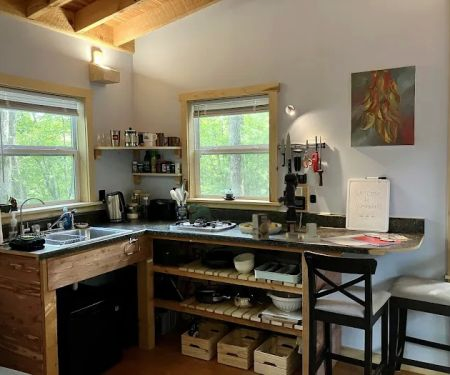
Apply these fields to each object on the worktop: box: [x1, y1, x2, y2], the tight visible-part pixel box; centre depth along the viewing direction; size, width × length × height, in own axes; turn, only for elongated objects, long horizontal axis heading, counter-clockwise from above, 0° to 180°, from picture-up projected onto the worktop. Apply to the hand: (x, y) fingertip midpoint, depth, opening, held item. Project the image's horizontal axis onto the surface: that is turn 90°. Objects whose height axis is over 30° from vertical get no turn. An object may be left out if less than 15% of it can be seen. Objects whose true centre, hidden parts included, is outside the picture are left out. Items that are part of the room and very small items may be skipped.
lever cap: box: [305, 222, 317, 238], centre depth 261 cm, size 4×5×10 cm
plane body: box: [285, 225, 301, 243], centre depth 266 cm, size 19×8×8 cm, turn 173°
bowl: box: [238, 219, 282, 235], centre depth 296 cm, size 30×30×8 cm
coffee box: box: [252, 212, 270, 241], centre depth 267 cm, size 9×6×16 cm
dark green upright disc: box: [187, 199, 213, 224], centre depth 327 cm, size 20×6×20 cm, turn 119°
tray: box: [301, 234, 322, 243], centre depth 261 cm, size 11×11×2 cm
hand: (290, 215), depth 281 cm, fingers open, 9 cm apart
